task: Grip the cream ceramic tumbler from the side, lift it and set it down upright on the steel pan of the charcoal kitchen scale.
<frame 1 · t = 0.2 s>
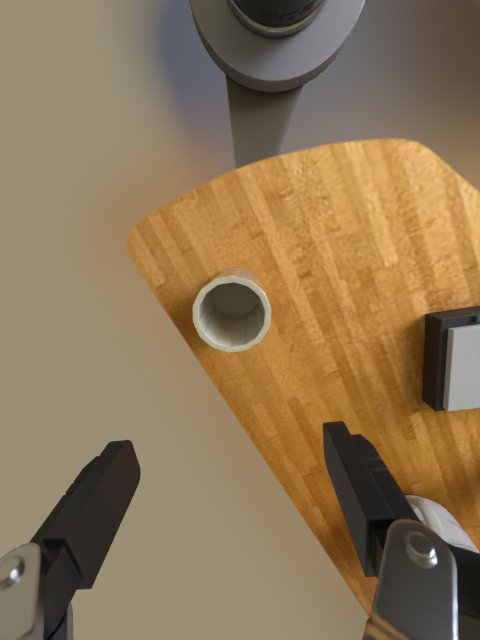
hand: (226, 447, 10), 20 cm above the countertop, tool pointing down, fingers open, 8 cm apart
teacup: (403, 501, 38), on the countertop
tumbler: (235, 294, 29), on the countertop
scale: (473, 352, 31), on the countertop
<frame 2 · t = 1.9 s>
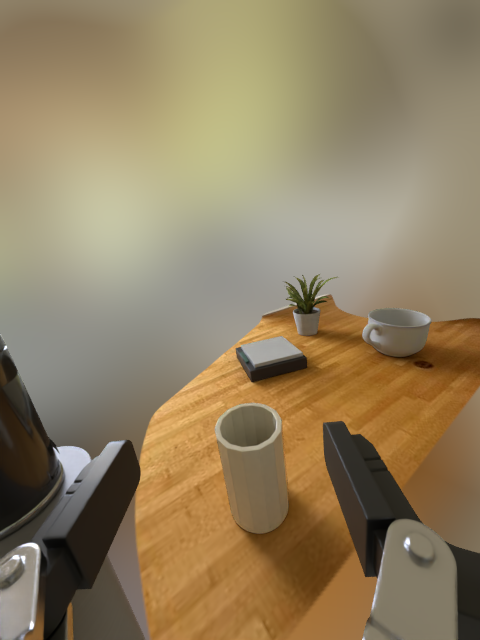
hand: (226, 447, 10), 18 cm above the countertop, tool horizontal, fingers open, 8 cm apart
teacup: (388, 352, 52), on the countertop
tumbler: (259, 500, 26), on the countertop
scale: (269, 362, 54), on the countertop
house plant: (312, 331, 68), on the countertop
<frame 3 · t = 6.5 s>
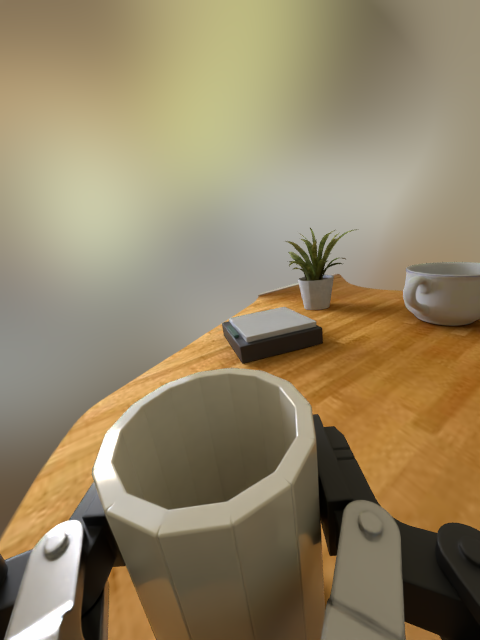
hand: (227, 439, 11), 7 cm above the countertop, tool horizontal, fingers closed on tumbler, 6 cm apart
teacup: (436, 322, 37), on the countertop
tumbler: (248, 614, 10), on the countertop, touching gripper
scale: (268, 339, 39), on the countertop
house plant: (322, 306, 53), on the countertop
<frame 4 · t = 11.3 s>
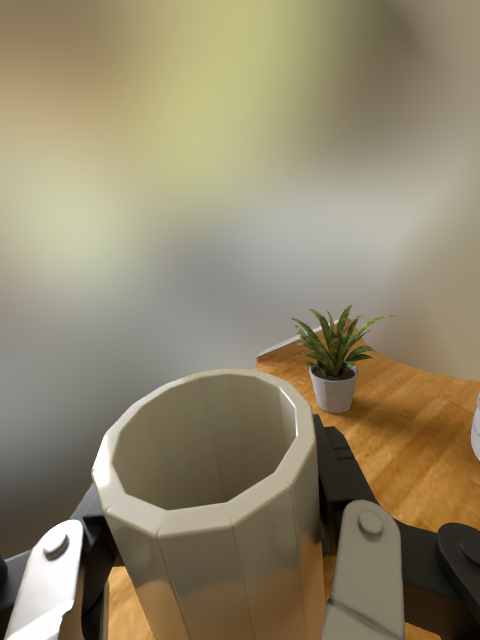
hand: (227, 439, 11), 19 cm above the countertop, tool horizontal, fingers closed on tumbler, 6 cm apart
tumbler: (248, 614, 10), point 12 cm above the countertop, touching gripper
house plant: (341, 401, 40), on the countertop
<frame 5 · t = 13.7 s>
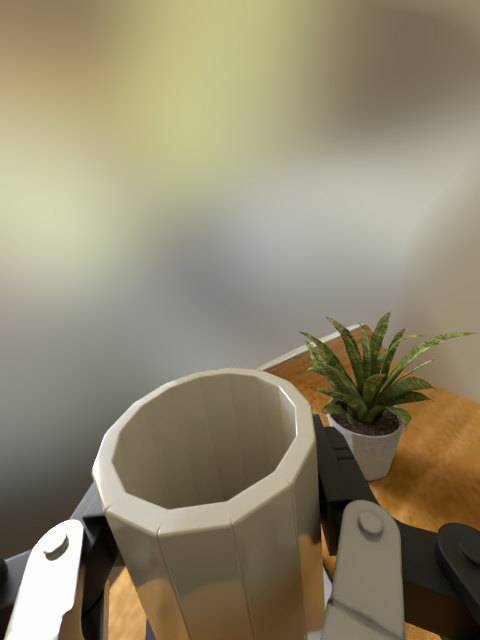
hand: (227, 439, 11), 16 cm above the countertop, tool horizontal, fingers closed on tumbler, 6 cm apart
tumbler: (248, 613, 10), point 9 cm above the countertop, touching gripper
house plant: (372, 456, 27), on the countertop
when the fingers open (10 cm above the countertop, at t = 15.9 s): tumbler stays where it is, resting on scale.
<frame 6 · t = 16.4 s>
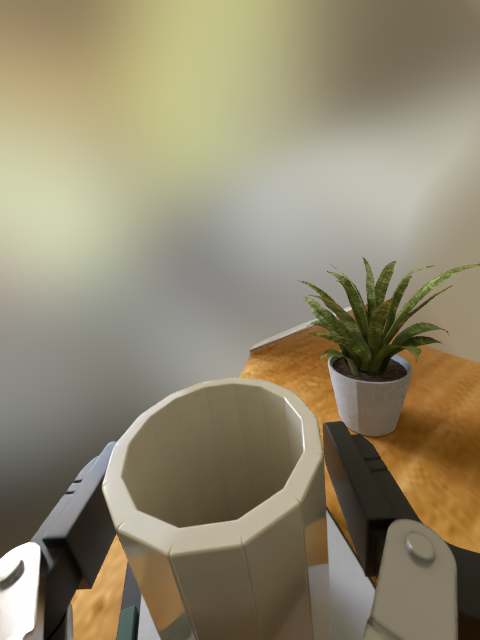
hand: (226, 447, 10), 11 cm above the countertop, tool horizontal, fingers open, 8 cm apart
tumbler: (254, 621, 10), point 3 cm above the countertop, touching scale
house plant: (377, 415, 25), on the countertop
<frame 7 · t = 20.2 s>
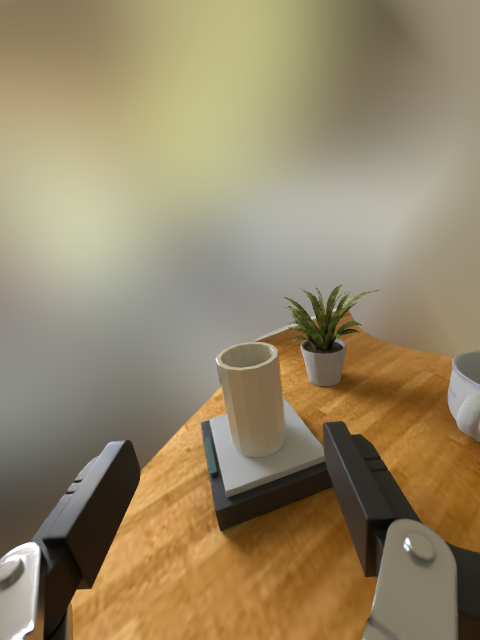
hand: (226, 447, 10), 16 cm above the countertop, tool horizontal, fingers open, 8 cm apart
tumbler: (258, 434, 28), point 3 cm above the countertop, touching scale
scale: (260, 457, 28), on the countertop
house plant: (331, 377, 42), on the countertop
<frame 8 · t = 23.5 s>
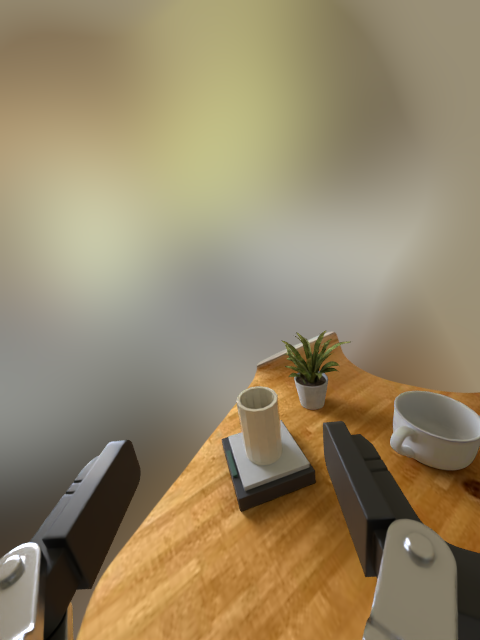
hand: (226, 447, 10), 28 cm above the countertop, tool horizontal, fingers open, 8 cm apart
teacup: (422, 455, 39), on the countertop
tumbler: (263, 449, 41), point 3 cm above the countertop, touching scale
scale: (265, 464, 42), on the countertop
house plant: (317, 401, 55), on the countertop
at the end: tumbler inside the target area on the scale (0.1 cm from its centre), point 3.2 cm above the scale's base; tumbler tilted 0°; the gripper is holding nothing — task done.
